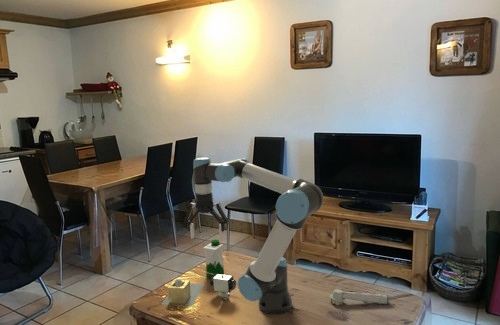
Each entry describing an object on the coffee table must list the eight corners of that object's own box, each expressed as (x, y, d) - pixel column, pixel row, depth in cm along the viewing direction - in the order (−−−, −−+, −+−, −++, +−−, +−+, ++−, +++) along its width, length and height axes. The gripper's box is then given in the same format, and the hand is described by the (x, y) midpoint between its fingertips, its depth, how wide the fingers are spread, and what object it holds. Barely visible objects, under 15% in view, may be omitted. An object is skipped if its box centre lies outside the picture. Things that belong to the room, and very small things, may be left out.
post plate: (205, 286, 204) (203, 264, 203) (192, 308, 183) (190, 284, 181) (177, 285, 207) (175, 263, 205) (161, 307, 186) (158, 283, 184)
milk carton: (226, 276, 215) (224, 240, 212) (217, 283, 208) (214, 246, 205) (213, 273, 220) (210, 238, 217) (203, 280, 212) (200, 244, 209)
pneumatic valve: (233, 302, 187) (231, 278, 185) (210, 299, 191) (209, 275, 189) (238, 297, 192) (236, 273, 190) (216, 293, 196) (214, 270, 194)
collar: (190, 296, 192) (189, 280, 191) (185, 304, 184) (184, 288, 183) (174, 295, 193) (173, 279, 192) (168, 303, 186) (167, 287, 184)
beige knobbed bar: (389, 298, 176) (332, 290, 179) (387, 312, 177) (330, 304, 180) (386, 292, 181) (331, 285, 184) (384, 306, 183) (329, 298, 185)
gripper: (232, 190, 181) (235, 235, 184) (180, 190, 185) (183, 234, 188) (229, 194, 174) (232, 241, 177) (174, 194, 178) (178, 240, 181)
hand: (207, 238), depth 183 cm, fingers open, 13 cm apart
